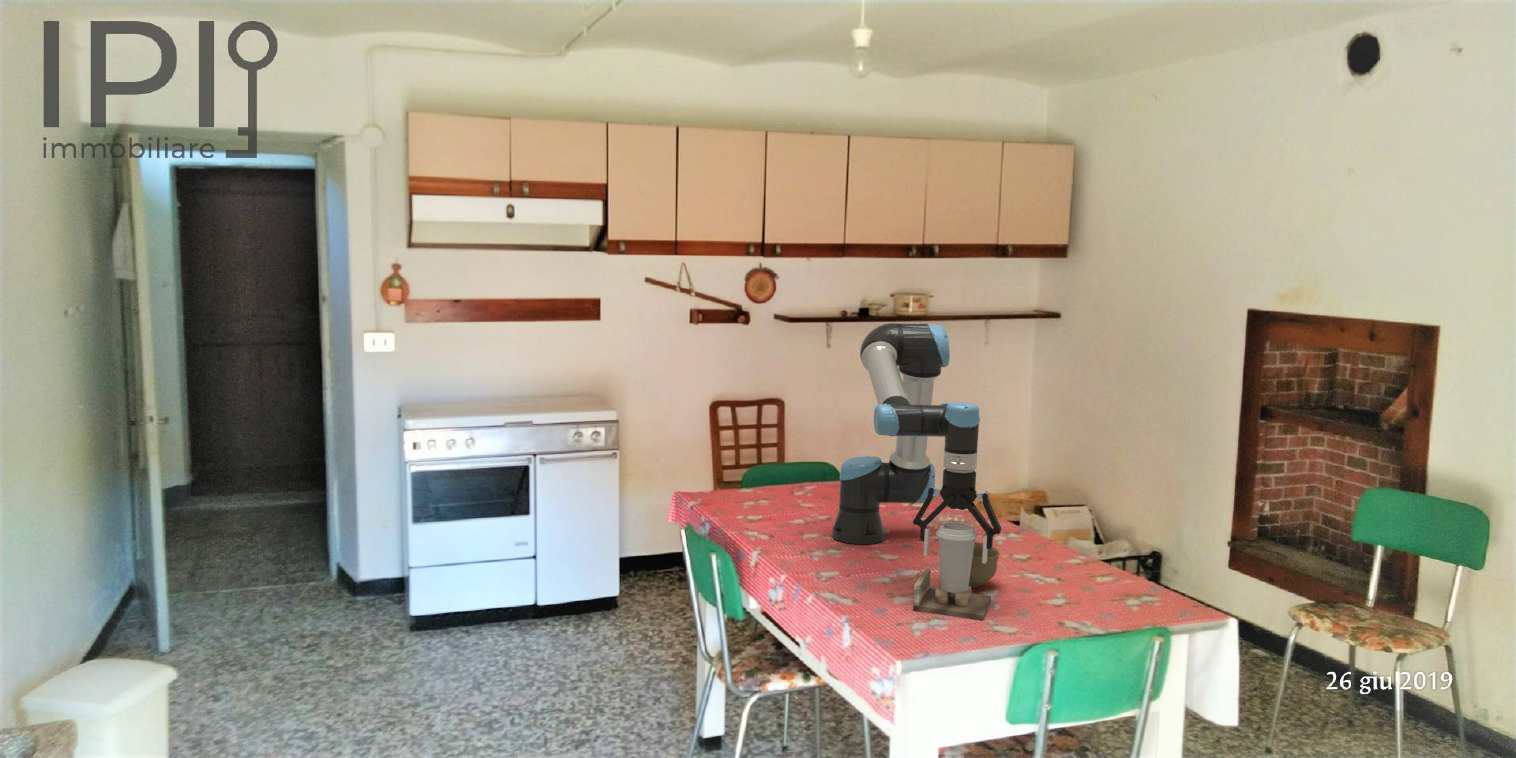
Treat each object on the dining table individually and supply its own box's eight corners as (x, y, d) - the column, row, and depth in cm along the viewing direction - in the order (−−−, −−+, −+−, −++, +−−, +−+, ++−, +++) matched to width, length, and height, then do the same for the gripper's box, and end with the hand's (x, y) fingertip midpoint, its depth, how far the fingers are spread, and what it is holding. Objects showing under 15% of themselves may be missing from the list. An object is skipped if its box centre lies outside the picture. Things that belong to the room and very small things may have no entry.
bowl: (987, 597, 246) (989, 557, 244) (938, 587, 252) (940, 548, 251) (1004, 583, 256) (1006, 545, 255) (956, 574, 263) (958, 536, 262)
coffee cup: (928, 581, 243) (931, 520, 241) (967, 581, 244) (971, 521, 242) (939, 595, 233) (942, 532, 231) (979, 595, 234) (983, 532, 232)
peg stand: (913, 610, 235) (914, 585, 234) (924, 592, 248) (925, 568, 248) (983, 620, 230) (984, 594, 229) (990, 601, 243) (992, 576, 242)
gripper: (903, 467, 236) (899, 555, 238) (1013, 478, 227) (1007, 569, 230) (909, 461, 243) (905, 547, 245) (1016, 471, 234) (1011, 560, 237)
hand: (955, 558), depth 238 cm, fingers open, 13 cm apart
